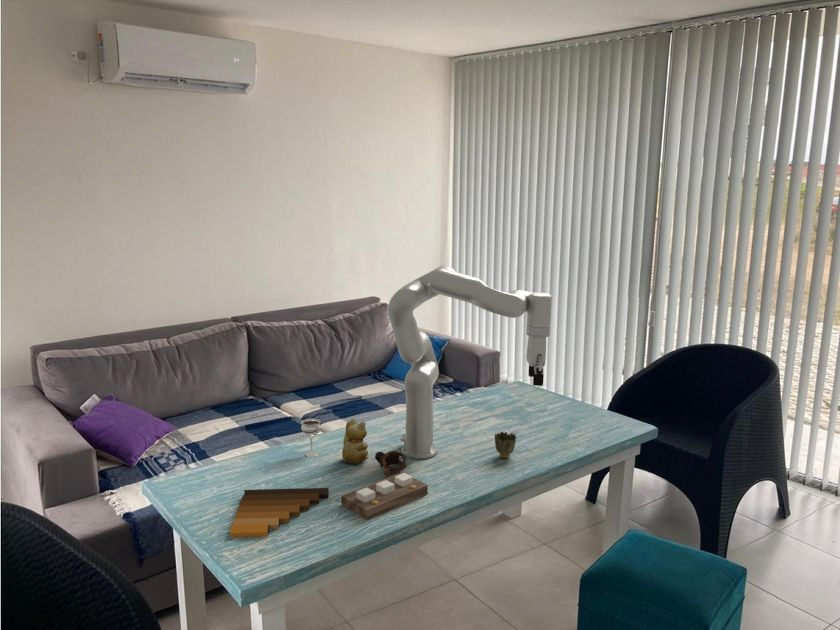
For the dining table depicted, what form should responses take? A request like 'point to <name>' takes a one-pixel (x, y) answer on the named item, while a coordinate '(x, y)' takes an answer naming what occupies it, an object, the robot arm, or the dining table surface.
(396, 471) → the pottery mug
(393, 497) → the button board
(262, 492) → the pan flute
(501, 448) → the dark tapered rough piece
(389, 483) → the button middle
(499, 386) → the dining table surface
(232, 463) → the dining table surface
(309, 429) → the wineglass
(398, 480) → the button
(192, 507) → the dining table surface
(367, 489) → the button
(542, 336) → the robot arm
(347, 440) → the decorative figurine
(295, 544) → the dining table surface
